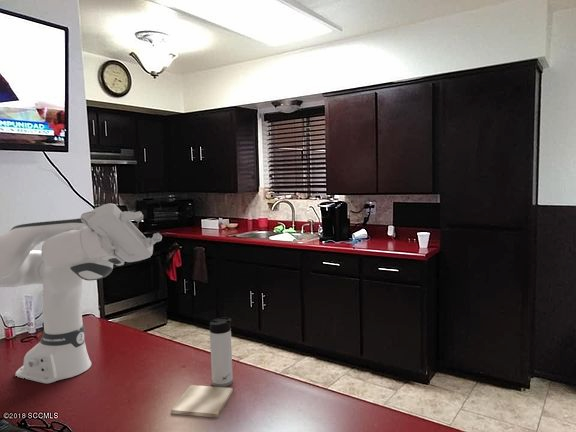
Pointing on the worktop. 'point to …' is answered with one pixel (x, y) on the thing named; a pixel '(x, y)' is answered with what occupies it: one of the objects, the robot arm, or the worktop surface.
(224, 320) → the travel mug
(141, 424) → the worktop surface
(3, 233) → the robot arm
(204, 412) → the coaster board
